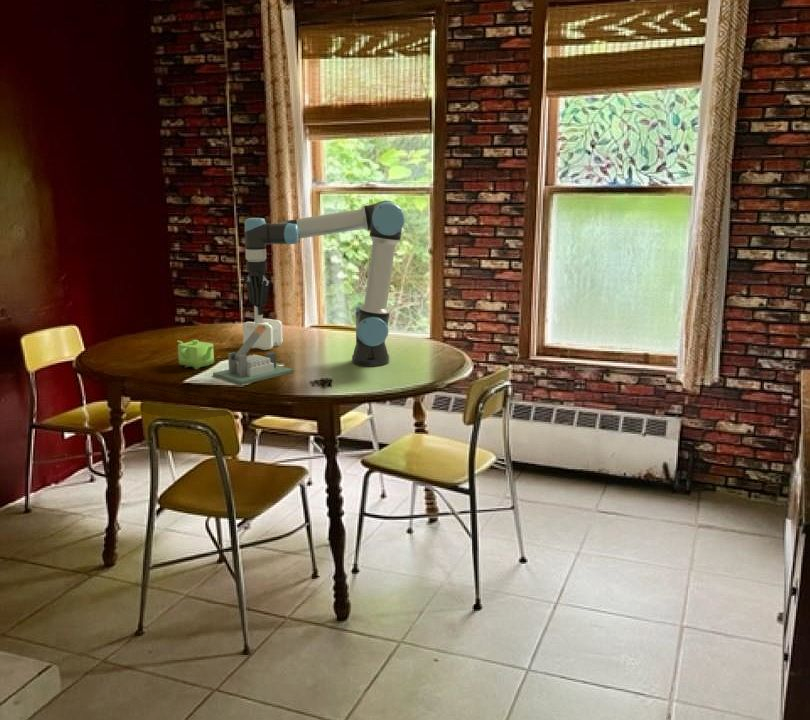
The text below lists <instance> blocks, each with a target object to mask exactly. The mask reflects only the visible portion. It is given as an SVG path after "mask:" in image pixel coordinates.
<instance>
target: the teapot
mask: <svg viewBox="0 0 810 720" xmlns="http://www.w3.org/2000/svg"><path fill="white" fill-rule="evenodd" d="M176 342H177V343H178V344H177V355H178V365H180V366H184V368H186V367H188V368H191V367H192V368H193V369H194V370H199V369H200V368H202V367H209V366H210V365H212V364H215V355H214V352H215V351H214V347H215V346H214V343H212V342H204V341H199V340H198V339H193V340H191V341H188V342H183V340H177V341H176Z"/></svg>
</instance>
